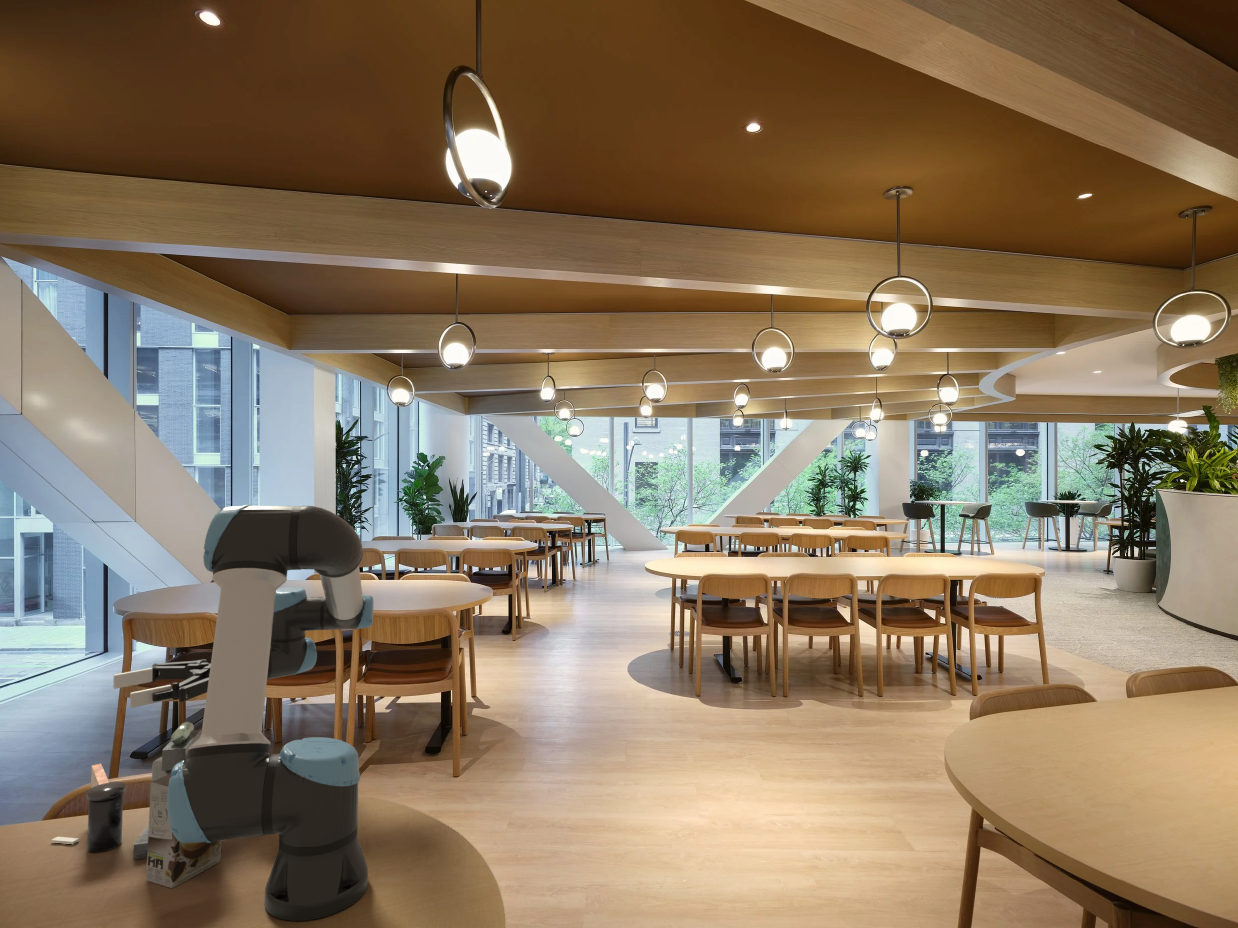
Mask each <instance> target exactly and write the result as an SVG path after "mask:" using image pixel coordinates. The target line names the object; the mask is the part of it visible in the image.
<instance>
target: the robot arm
mask: <svg viewBox="0 0 1238 928" xmlns="http://www.w3.org/2000/svg"><path fill="white" fill-rule="evenodd" d="M204 539H205V540H204V544H203V545H204V546H203V550H204V551H203V556H202V557H203V564H204V568H205V569H206V571H208V572H211V573H212V581H213V582H214V583H215V584H216V585H217V586H218V587H219V588H220V593H219V600H218V601H219V602H218V609H217V615H216V623H215V631H214V637H213V645H212V646H213V647H212V654H211V660H210V661H211V662H210V663H209V662H208V661H207V659H197V660H191V661H190V660H189V661H187V660H186V661H174V662H173V661H172V662H162V663H153V664H152V667H149V668H143V669H142V668H141V669H137V670H132V671H131V670H130V671H126V672H121V673H115V674H113V690H115V689H122V688H126V687H132V686H136V685H141V684H147V683H150V684H151V683H152V684H153V683H156V681H157V680H183V681H181V682H172V685H171V684H166V685H161V686H156V687H152V688H148V689H142V690H138V691H137V690H136V691H132V692H130V693H129V695H130V696H129V697H130V698H129V701H130V702H129V707H130V708H131V709H134V708H139V707H143V706H147V705H153V704H156V703H161V702H162V703H163V702H165V701H166V702H167V701H170V700H173V701H177V700H178V702H180V703H181V702H182V703H183V702H185V701H188V700H191V699H193V698H196V697H198V696H201V695H203V694H206V698H205V703H204V704H205V706H204V713H203V719H202V728H201V736H200V738H199V739H198V740H197V741H196V742H195V743H194V744H192V745H191V746H190V747H189V749H188V754H187V760H186V761H181V762H179V763H177V764H176V765H175V766H174V767H173V769H172V772H171V778H170V780H169V785H168V816H169V822H170V826H171V830H172V832H173V834H174V836H175V837H176V839H177V840H179V841H180V842H183V843H198V842H207V843H212V842H214V841H221V842H222V841H228V840H229V841H230V840H236V839H237V840H238V839H244V838H246V839H247V838H255V837H261V836H262V837H263V836H267V835H268V836H269V835H278V850H277V852H276V853H277V854H276V856H275V859H274V861H273V862H274V863H273V865H272V867H271V871H270V873H269V877H268V880H267V881H266V885H265V887H264V888H265V889H264V890H265V891H264V907H265V908H264V909H265V910H266V912H267V913H268V914H270V915H271V916H273V917H275V918H277V919H281V920H285V921H294V922H295V921H303V922H304V921H311V920H316V919H322V918H326V917H328V916H331V915H334V914H337V913H339V912H341V911H343V910H345V909H347V908H348V907H351V906H352V905H353V904H355V903H356V902H357V901H358V900H360V899H361V898H362V896H363V895H364V894H365V893H366V891H367V889H368V885H369V869H368V868H369V867H368V866H367V861H366V859H365V855H364V852H363V848H362V846H361V843H360V840H359V837H358V834H359V832H358V830H359V827H358V825H359V820H358V819H359V782H360V780H361V773H360V766H359V764H360V762H359V760H360V759H359V753H358V751H357V750H356V748H355V747H354V746H353V745H352V744H350V743H348V742H346V741H344V740H341V739H337V738H332V737H322V736H321V737H320V736H319V737H317V736H314V737H304V738H301V739H295V740H292V741H290V742H287V743H286V744H285V745H284V746H282V749H281V750H280V752H279V753H271V745H272V744H271V743H272V742H271V741H270V740H269V739H268V738H267V737H266V736H265V735H264V733H263V732H262V731H263V722H264V711H265V702H266V693H267V683H268V680H272V679H277V678H282V677H287V676H295V675H297V674H301V673H305V672H308V671H310V670H312V669H313V668H314V666H315V665H316V663H317V659H318V652H317V646H316V644H315V642H314V640H313V639H312V638H311V637H306V631H307V632H309V631H311V632H312V631H313V632H314V631H331V630H332V631H334V630H335V631H337V630H339V631H340V630H359V629H368V628H370V627H371V626H373V621H374V597H373V596H372V595H364V594H363V589H362V580H361V571H360V565H361V563H362V561H363V558H364V557H363V556H364V553H363V552H364V551H363V550H364V549H363V545H362V541H361V538H360V536H359V535H358V533H357V532H356V530H355V529H354V528H353V527H352V526H351V524H350V523H348V522H347V521H346V520H345V519H343V518H342V517H341V516H339V515H337V514H336V513H333V512H332V511H330V510H328V509H326V508H325V509H324V508H322V507H318V506H314V505H251V504H244V505H237V506H236V505H235V506H225V507H223V508H221V509H220V510H218V512H217V513H215V514H214V516H213V518H212V519H211V521H210V523H209V526H208V528H207V532H206V534H205V538H204ZM298 570H299V571H300V570H314V571H315V572H316V573H317V574H318V575H319V577H320V582H321V586H322V590H323V593H324V594H323V595H324V596H308V595H307V592H306V589H304V588H303V587H290V586H289V587H282V586H283V585H284V584H286V582H287V577H288V571H298ZM280 587H281V588H280Z"/></svg>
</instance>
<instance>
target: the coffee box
mask: <svg viewBox="0 0 1238 928" xmlns="http://www.w3.org/2000/svg"><path fill="white" fill-rule="evenodd" d="M170 778H171V774H170V775H167V776H165V777H162V778H159V779H157V780H154V781H152V780H151V781H150V790H149V791H150V792H149V794H150V795H149V809H148V810H149V813H148V814H149V815H148V825H149V830H148V851H147V858H146V875H145V880H146V881H147V882H151V883H153V884H158V885H161V886H163V887H167V888H169V889H173V888H176V887H177V886H179V885H180V884H182V883H184V882H186V881H188V880H189V879H192V878H194V877H195V876H197V875H199V874H201V873H202V872H204V871H206V870H208V869H210V868H211V867H213V866H214V865H217V864H218V863H220V862H221V858H222V857H221V855H222V853H221V851H222V850H221V849H222V840H221V841H214V842H212V843H207V842H198V843H183V842H180V841H179V840H177V839H176V837H175V836H174V834H173V832H172V830H171V826H170V822H169V816H168V785H169V780H170Z"/></svg>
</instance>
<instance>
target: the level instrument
mask: <svg viewBox="0 0 1238 928" xmlns="http://www.w3.org/2000/svg"><path fill="white" fill-rule="evenodd" d="M194 726H195V725H194V724H193V723H192V722H190V721H184V722H182V723H181V724H180V725H179V726H178V727H177V729H175V731H173V733H172V734H171V737H170V741H169V742H168V743H167V744H166V745H165V746H164V747H163V749H161V750H162V751H161V756H160V757H158V758H157V759H155V760H154V761H153V762H152V766H151V781H154V780H157V779H159V778H162V777H165V776H167V775H170V774H171V772H172V769H173V767H174V766H175V765H176V764H177V763H179V762H181V761H186V760H187V754H188V749H189V747H190V746H191V745H192V744H194V743H195V742H196V741H197V740H198V739H199V738H200V736H201V734H202V729H195V727H194ZM148 830H149V824H148V825H147V826H146V828H145V829H144V830H143V831H142V833H141V835H139V836H138V839H137V840H136V841H135V843H134V844H133V858H132V859H133V860H140V859H147V851H148Z"/></svg>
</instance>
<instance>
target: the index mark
mask: <svg viewBox="0 0 1238 928" xmlns="http://www.w3.org/2000/svg"><path fill="white" fill-rule="evenodd" d="M50 841H51V842H56V843H65V844H74V843H76V842H78V841H79V842H80V838H77V837H67V836H56V837H54V838H52V839H51V840H50ZM51 842H50V843H51ZM79 842H78V843H79ZM65 844H64V845H65ZM76 844H77V843H76ZM74 845H75V844H74Z"/></svg>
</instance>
